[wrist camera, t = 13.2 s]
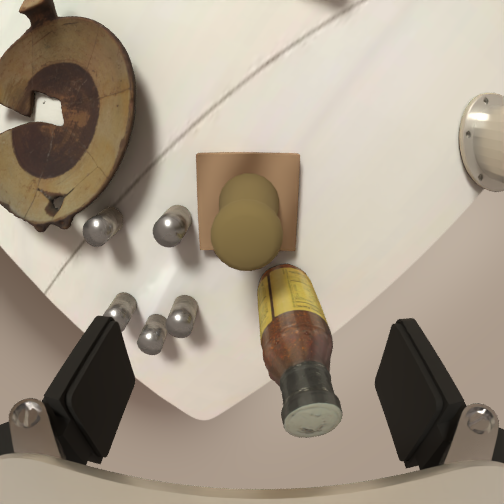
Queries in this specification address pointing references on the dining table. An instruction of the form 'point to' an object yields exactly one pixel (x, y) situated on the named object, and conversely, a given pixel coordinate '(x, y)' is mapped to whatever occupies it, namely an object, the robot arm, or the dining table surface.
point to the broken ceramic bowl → (74, 114)
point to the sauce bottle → (297, 351)
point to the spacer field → (124, 305)
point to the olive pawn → (247, 223)
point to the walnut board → (236, 163)
